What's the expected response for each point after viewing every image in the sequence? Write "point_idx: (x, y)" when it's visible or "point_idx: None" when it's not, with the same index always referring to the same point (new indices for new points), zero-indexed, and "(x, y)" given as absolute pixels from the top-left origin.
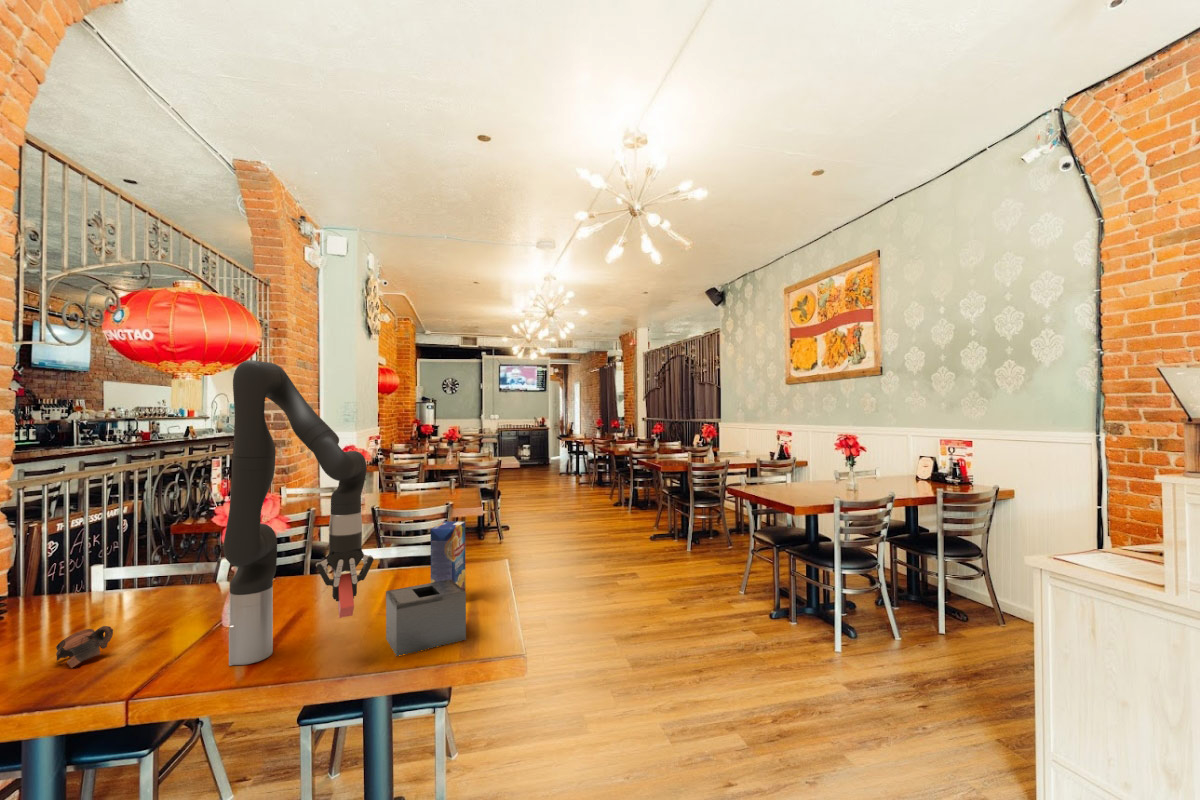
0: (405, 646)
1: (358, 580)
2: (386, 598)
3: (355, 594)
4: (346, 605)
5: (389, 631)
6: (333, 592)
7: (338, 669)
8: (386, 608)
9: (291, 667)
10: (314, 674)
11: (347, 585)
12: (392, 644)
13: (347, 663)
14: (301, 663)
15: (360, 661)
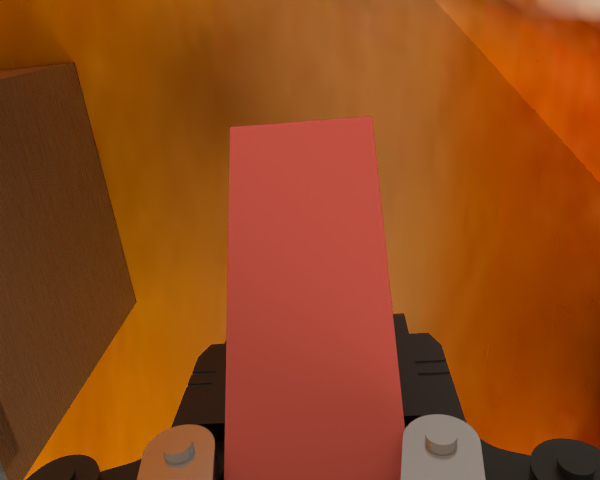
0: (4, 72)
1: (132, 472)
2: (36, 442)
3: (211, 352)
4: (309, 140)
5: (91, 259)
6: (449, 381)
7: (356, 59)
8: (69, 394)
9: (556, 195)
10: (469, 57)
11: (283, 405)
12: (88, 170)
13: (311, 111)
14: (510, 217)
15: (250, 103)
